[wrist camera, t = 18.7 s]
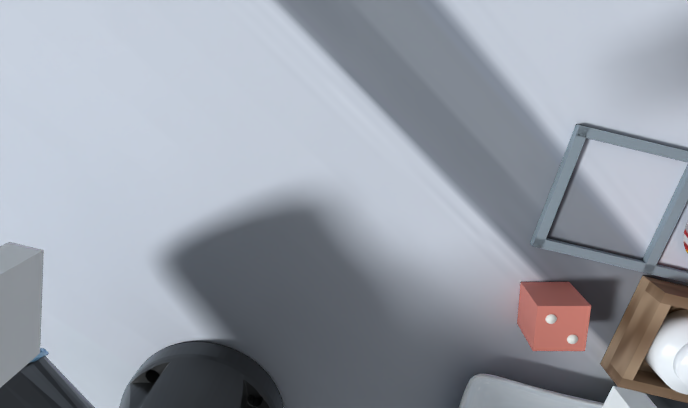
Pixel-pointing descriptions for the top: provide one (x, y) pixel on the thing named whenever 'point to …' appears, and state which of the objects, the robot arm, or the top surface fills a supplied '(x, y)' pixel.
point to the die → (553, 316)
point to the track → (683, 193)
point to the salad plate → (516, 395)
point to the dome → (671, 351)
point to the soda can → (686, 237)
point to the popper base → (643, 337)
